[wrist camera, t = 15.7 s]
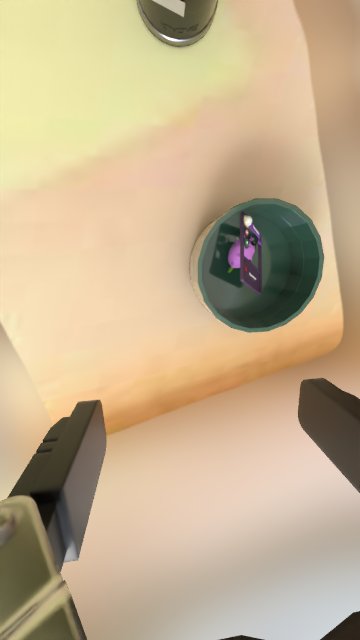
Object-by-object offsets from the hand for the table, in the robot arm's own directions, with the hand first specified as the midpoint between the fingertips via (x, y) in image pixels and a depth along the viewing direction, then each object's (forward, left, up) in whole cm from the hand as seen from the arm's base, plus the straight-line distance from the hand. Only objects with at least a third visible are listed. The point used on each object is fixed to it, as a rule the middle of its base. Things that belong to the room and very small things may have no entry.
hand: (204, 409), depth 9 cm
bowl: (-4, +12, -28) cm, 30 cm away
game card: (-4, +12, -26) cm, 29 cm away
